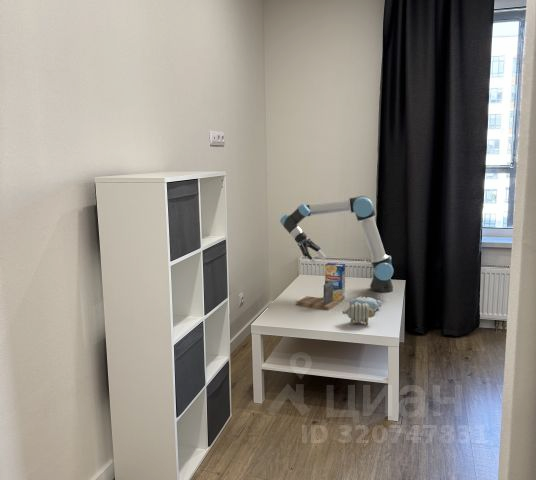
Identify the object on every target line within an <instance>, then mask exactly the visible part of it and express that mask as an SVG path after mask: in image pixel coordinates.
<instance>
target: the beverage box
mask: <svg viewBox="0 0 536 480" xmlns="http://www.w3.org/2000/svg"><path fill="white" fill-rule="evenodd" d="M330 281H333V300H337V301H339V302H343V301H344V300H345V299H346V263H337V262H327V263H326V264H325V265H324V285H325V284H326V283H328V282H330Z"/></svg>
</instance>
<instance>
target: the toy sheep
mask: <svg viewBox="0 0 536 480" xmlns="http://www.w3.org/2000/svg"><path fill="white" fill-rule="evenodd" d="M343 314H344V315H347V317H348V318H349V319H350V322H351V323H350V324H351V325H354V323H358V324H360V323H365V322H366V323H365V325H366V326H368V325H369V318H373V317H374V316H375V311H373V310H372V309H370V308H368V305H364V304H360V303H358V304H354V305H350V306H348V308H347V310H342V315H343Z"/></svg>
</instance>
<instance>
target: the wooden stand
mask: <svg viewBox="0 0 536 480" xmlns="http://www.w3.org/2000/svg"><path fill="white" fill-rule="evenodd" d="M295 303H296V305H295V306H300V307H307V308H314V309H319V310H326V311H330V310H332V309H333V308H335V307H336V306H338V305H339V303H340V301H337V300H333V281H330V282H328V283H326V284H325V283H324V284H323V298H322V297H316V296H304V297H302V298H301V299H299V300H296V302H295Z"/></svg>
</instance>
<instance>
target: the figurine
mask: <svg viewBox="0 0 536 480" xmlns="http://www.w3.org/2000/svg"><path fill="white" fill-rule="evenodd" d="M358 303H360V304H364V305H368V308H370V309H372V310H373V311H374V312H376V311H377V310H378V309H379V308H381V307H382V305H383V303H382V301H381V299H380V300H379V299H375V298H373V297H370V296H369V297H367V296H359V297H356V298H354V299H350V301H349V305H350V306H351V305H354V304H358Z"/></svg>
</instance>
